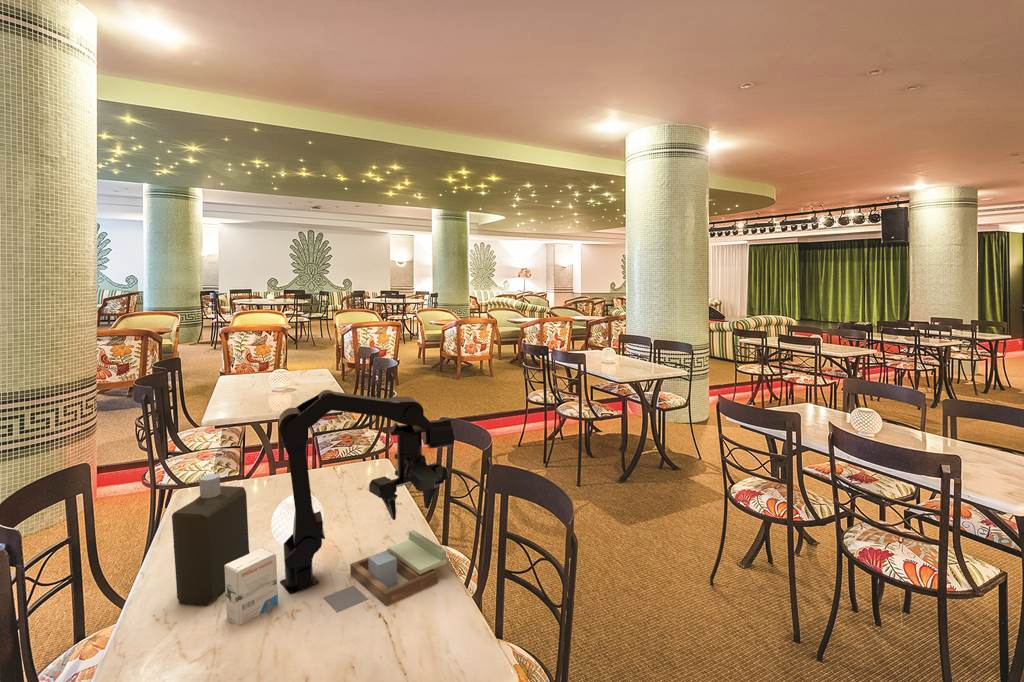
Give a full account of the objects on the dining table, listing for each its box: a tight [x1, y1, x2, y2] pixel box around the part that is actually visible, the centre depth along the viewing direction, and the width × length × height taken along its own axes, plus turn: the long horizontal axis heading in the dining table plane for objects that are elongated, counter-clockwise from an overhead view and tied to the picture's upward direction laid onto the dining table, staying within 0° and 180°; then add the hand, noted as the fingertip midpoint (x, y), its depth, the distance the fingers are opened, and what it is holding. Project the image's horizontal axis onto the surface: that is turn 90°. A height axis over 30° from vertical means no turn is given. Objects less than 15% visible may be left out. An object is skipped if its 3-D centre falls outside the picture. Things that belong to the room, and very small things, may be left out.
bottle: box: [171, 473, 250, 607], centre depth 119 cm, size 8×16×25 cm, turn 174°
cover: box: [387, 529, 447, 574], centre depth 126 cm, size 14×7×3 cm, turn 43°
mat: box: [322, 585, 369, 613], centre depth 115 cm, size 7×7×1 cm
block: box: [367, 550, 398, 589], centre depth 121 cm, size 4×4×6 cm
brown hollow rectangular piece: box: [349, 549, 438, 606], centre depth 123 cm, size 16×13×3 cm
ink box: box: [224, 547, 279, 626], centre depth 110 cm, size 9×5×12 cm, turn 147°
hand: (410, 513), depth 130 cm, fingers open, 9 cm apart
